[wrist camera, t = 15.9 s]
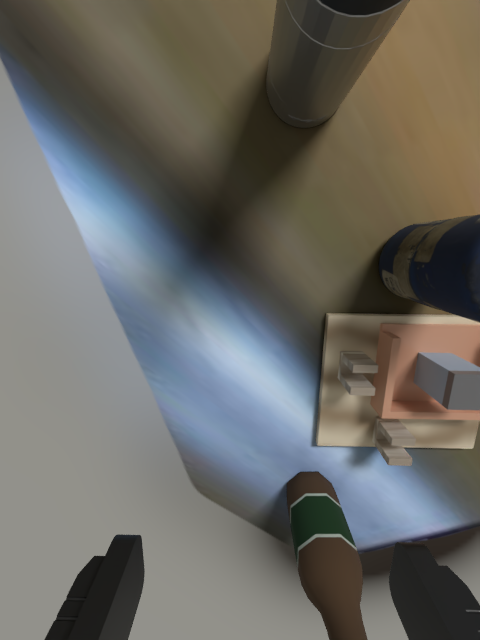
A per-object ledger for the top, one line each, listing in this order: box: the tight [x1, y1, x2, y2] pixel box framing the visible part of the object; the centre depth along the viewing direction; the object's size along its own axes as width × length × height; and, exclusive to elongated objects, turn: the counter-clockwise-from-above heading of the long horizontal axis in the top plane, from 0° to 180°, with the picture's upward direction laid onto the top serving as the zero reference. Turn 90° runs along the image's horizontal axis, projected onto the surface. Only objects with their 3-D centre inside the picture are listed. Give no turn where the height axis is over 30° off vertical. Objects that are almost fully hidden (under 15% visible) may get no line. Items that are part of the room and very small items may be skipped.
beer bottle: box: [287, 472, 367, 640], centre depth 35 cm, size 8×8×24 cm
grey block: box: [413, 352, 480, 410], centre depth 36 cm, size 4×4×7 cm
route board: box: [316, 313, 480, 466], centre depth 39 cm, size 20×23×6 cm
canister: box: [379, 215, 480, 323], centre depth 30 cm, size 10×10×18 cm
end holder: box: [370, 323, 480, 420], centre depth 39 cm, size 12×15×4 cm
